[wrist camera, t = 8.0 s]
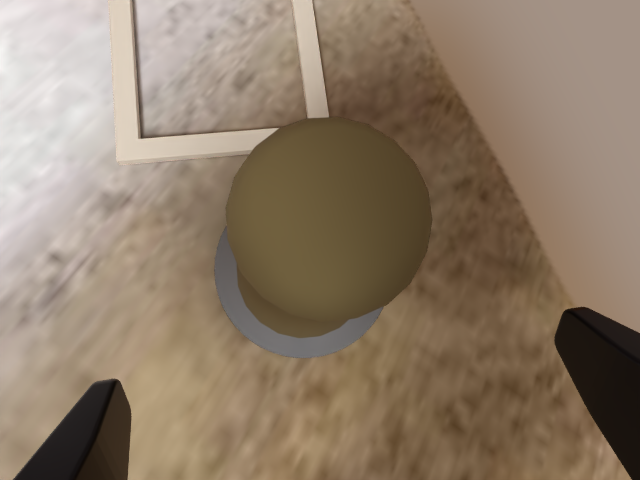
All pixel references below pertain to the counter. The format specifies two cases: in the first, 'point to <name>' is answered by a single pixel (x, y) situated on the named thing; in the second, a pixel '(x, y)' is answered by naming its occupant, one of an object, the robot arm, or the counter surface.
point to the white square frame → (198, 145)
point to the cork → (325, 225)
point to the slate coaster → (267, 336)
